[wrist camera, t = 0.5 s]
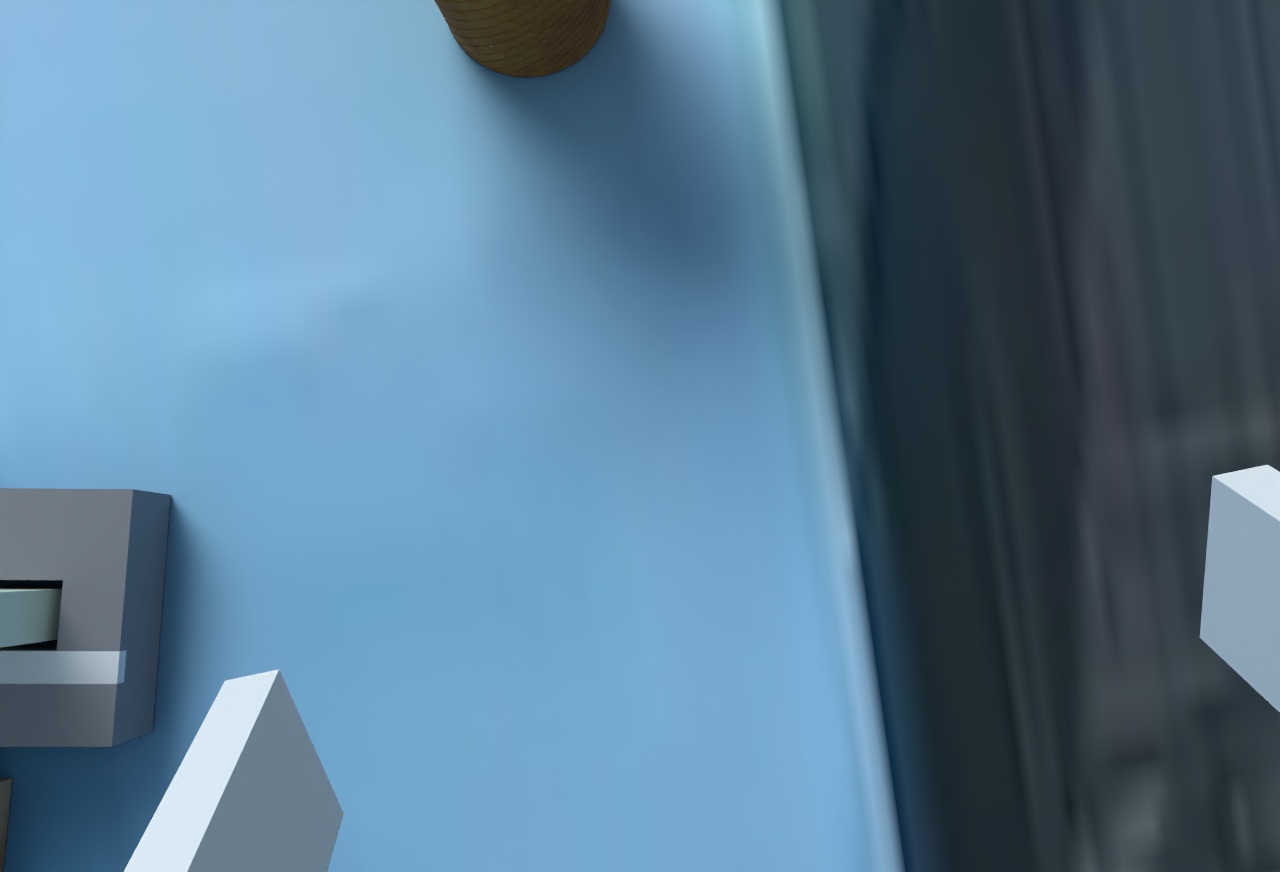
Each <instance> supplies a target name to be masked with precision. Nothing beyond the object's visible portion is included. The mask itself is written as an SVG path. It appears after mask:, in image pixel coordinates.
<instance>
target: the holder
mask: <svg viewBox="0 0 1280 872" xmlns="http://www.w3.org/2000/svg"><path fill="white" fill-rule="evenodd" d="M11 786H12V778H0V872H3V868H4V858H5V848H6V837H7V827H8V817H9V806H10V796H11Z"/></svg>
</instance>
